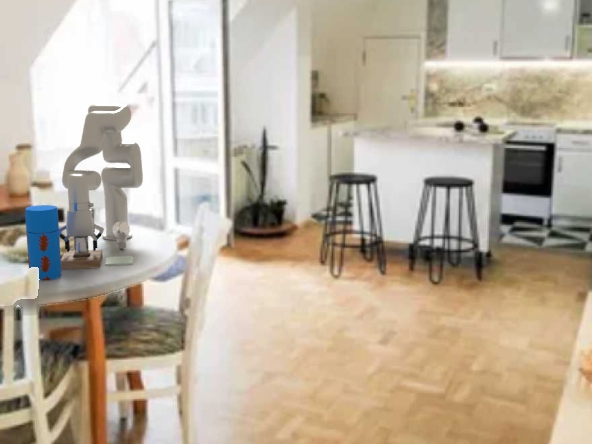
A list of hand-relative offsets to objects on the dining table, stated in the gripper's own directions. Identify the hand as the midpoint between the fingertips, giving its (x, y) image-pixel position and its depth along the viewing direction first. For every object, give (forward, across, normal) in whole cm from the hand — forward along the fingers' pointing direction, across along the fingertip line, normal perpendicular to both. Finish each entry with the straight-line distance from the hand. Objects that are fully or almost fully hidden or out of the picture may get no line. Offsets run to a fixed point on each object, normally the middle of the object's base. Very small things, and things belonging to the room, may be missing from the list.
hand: (81, 250), depth 278 cm
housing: (+5, 0, 0) cm, 5 cm away
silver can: (+5, 0, 0) cm, 5 cm away
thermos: (+5, +11, +17) cm, 21 cm away
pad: (+5, -14, 0) cm, 15 cm away
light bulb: (+5, -14, -19) cm, 24 cm away
